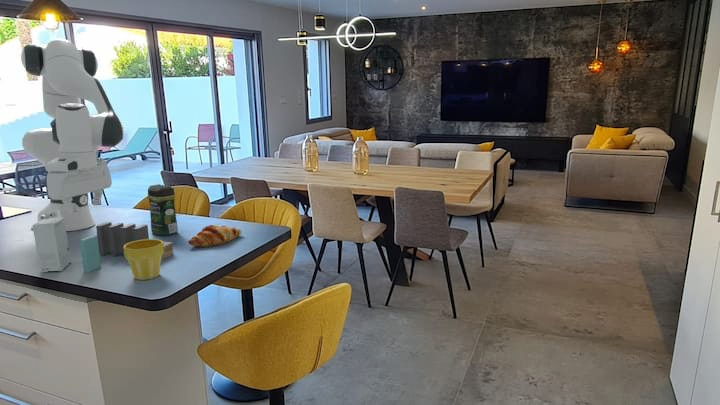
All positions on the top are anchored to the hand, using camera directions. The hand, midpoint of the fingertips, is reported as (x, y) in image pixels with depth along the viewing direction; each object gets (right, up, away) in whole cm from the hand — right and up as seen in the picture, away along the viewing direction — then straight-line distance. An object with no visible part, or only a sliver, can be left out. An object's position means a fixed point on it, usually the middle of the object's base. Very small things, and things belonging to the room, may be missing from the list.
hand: (85, 208), depth 137 cm
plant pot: (+18, -20, 0) cm, 27 cm away
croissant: (+29, -13, +31) cm, 45 cm away
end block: (+16, -16, +15) cm, 27 cm away
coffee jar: (+6, -10, +42) cm, 43 cm away
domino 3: (+1, -15, +18) cm, 24 cm away
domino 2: (-4, -15, +19) cm, 24 cm away
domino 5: (+10, -16, +16) cm, 24 cm away
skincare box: (-12, -18, +6) cm, 23 cm away
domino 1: (0, -18, +4) cm, 19 cm away
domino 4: (+5, -16, +17) cm, 24 cm away
